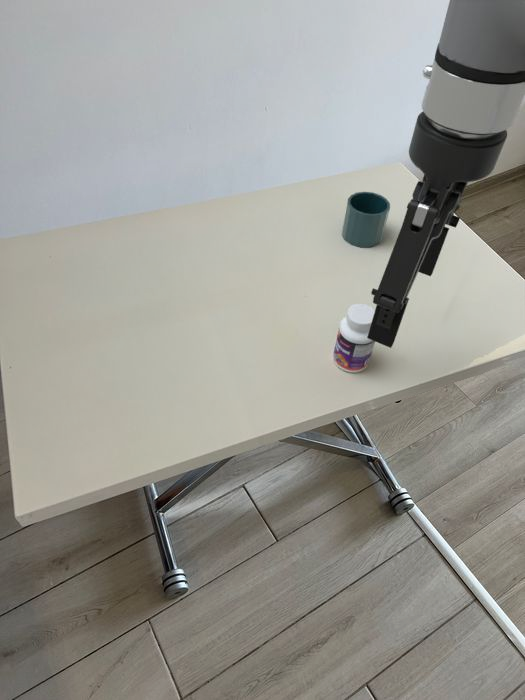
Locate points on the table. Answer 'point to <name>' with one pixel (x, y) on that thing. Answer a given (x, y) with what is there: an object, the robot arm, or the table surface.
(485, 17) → the robot arm
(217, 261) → the table surface
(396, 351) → the table surface
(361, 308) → the pill bottle
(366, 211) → the cup
